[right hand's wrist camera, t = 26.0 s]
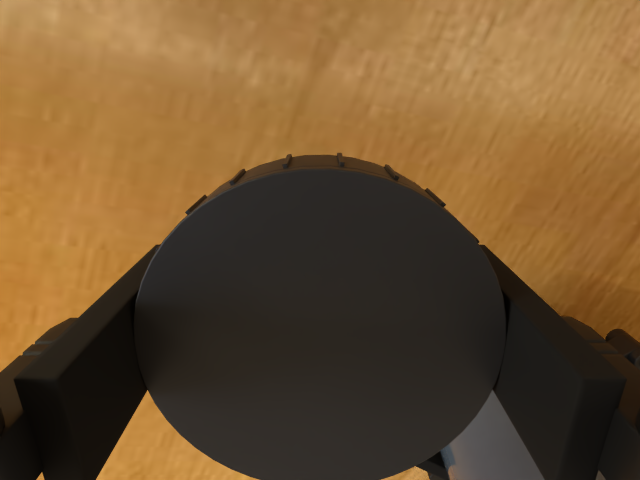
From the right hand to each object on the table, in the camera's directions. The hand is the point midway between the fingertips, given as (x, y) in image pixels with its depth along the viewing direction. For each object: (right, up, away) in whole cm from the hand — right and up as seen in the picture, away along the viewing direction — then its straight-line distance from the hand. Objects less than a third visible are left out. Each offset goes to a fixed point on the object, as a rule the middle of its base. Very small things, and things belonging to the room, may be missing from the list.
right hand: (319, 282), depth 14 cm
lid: (0, -1, -3) cm, 3 cm away
